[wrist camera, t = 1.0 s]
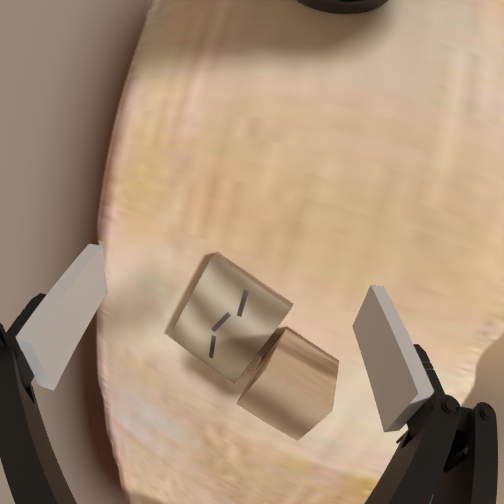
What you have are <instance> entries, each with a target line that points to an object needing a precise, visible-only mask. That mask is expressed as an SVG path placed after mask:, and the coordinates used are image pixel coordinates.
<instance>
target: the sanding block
mask: <svg viewBox="0 0 504 504" xmlns="http://www.w3.org/2000/svg"><path fill="white" fill-rule="evenodd" d="M338 365H339V360H337V359H336V358H334V357H333V356H331V355H329V354H328V353H326V352H325V351H323V350H322V349H320V348H319V347H317V346H316V345H314V344H313V343H311V342H310V341H308V340H307V339H305V338H303V337H302V336H300V335H299V334H297V333H296V332H294V331H293V330H291V329H290V328H288V327H286V329H285V330H284V331H283V333H282V334H281V335H280V336H279V338H278V339H277V340H276V342H275V343H274V344H273V346H272V347H271V348H270V349H269V351H268V352H267V353H266V354H265V356H264V357H263V358H262V360H261V362H260V364H259V365H258V367H257V369H256V371H255V372H254V374H253V376H252V378H251V379H250V381H249V383H248V385H247V386H246V388H245V390H244V392H243V393H242V395H241V397H240V398H239V400H238V402H237V403H236V404H238V405H239V406H241V407H242V408H244V409H245V410H247V411H248V412H250V413H252V414H253V415H255V416H256V417H258V418H260V419H261V420H263V421H265V422H266V423H268V424H269V425H271V426H273V427H275V428H276V429H278V430H280V431H281V432H283V433H285V434H287V435H288V436H290V437H292V438H294V439H295V440H297V441H298V440H299V439H300V438H301V437H303V436H304V435H305V434H306V433H307V432H309V431H310V430H311V429H312V428H313V427H315V426H316V425H317V424H318V423H319V422H320V421H321V420H323V419H324V418H325V417H326V416H327V415H328V414H329V413H330V412H331V411H332V409H333V402H334V396H335V389H336V381H337V373H338Z"/></svg>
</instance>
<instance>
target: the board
mask: <svg viewBox="0 0 504 504" xmlns="http://www.w3.org/2000/svg"><path fill="white" fill-rule="evenodd" d="M292 306H293V303H291V302H290V301H289V300H287V299H286V298H284V297H283V296H281V295H280V294H278V293H277V292H275V291H274V290H272V289H271V288H269V287H268V286H266V285H265V284H264V283H262V282H261V281H259V280H258V279H256V278H255V277H253V276H252V275H250V274H249V273H247V272H246V271H245V270H243V269H242V268H240V267H239V266H237V265H236V264H234V263H233V262H232V261H230V260H229V259H227V258H226V257H224V256H223V255H221V254H220V253H219V252H218V253H216V254H214V255H213V256H212V258H211V260H210V261H209V263H208V265H207V267H206V269H205V271H204V272H203V274H202V276H201V278H200V280H199V282H198V284H197V285H196V287H195V289H194V291H193V293H192V295H191V297H190V298H189V300H188V302H187V304H186V306H185V308H184V310H183V312H182V314H181V315H180V317H179V319H178V321H177V323H176V325H175V327H174V329H173V331H172V333H171V335H170V337H172V338H173V339H174V340H176V341H177V342H178V343H179V344H181V345H182V346H183V347H185V348H186V349H187V350H189V351H190V352H191V353H193V354H194V355H195V356H197V357H198V358H200V359H201V360H202V361H204V362H205V363H206V364H208V365H209V366H211V367H212V368H213V369H215V370H216V371H218V372H219V373H221V374H222V375H223V376H225V377H226V378H228V379H229V380H231V381H232V382H234V383H235V382H236V380H237V379H238V378H239V377H240V375H241V374H242V373H243V372H244V370H245V369H246V368H247V367H248V365H249V364H250V363H251V361H252V360H253V359H254V358H255V356H256V355H257V354H258V352H259V351H260V350H261V348H262V347H263V346H264V345H265V343H266V342H267V341H268V339H269V338H270V337H271V335H272V334H273V333H274V331H275V330H276V329H277V327H278V326H279V325H280V323H281V322H282V320H283V319H284V318H285V316H286V315H287V314H288V312H289V311H290V310H291V308H292Z"/></svg>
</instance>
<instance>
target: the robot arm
mask: <svg viewBox="0 0 504 504" xmlns="http://www.w3.org/2000/svg"><path fill="white" fill-rule="evenodd" d="M297 1H299V2H301V3H303V4H304V5H307V6H309V7H311V8H314V9H317V10H321V11H325V12H330V13H339V14H352V13H361V12H366V11H369V10H372V9H375V8H377V7H379V6H381V5H383V4H384V3H386V2H387V1H388V0H297ZM107 292H108V291H107V283H106V275H105V266H104V256H103V246H98V245H92V244H89V245H88V246H87V247H86V248H85V249H84V250H83V252H82V253H81V254H80V255H79V256H78V257H77V258H76V260H75V261H74V262H73V263H72V264H71V265H70V267H69V268H68V269H67V270H66V272H65V273H64V274H63V275H62V276H61V278H60V279H59V280H58V281H57V282H56V284H55V285H54V286H53V287H52V289H51V290H50V291H49V293H48V294H47V295H45V294H42V293H40V294H39V295H37V296H36V297H34V298H33V299H31V301H30V302H29V303H28V304H27V306H26V307H25V309H23V311H22V312H21V315H19V316H18V317H17V319H16V320H15V321H14V323H13V324H12V326H11V327H10V328H9V330H8V331H7V332H5V330H4V328H3V325H2V324H1V323H0V458H1V462H2V465H3V469H4V472H5V475H6V478H7V481H8V484H9V487H10V490H11V493H12V496H13V499H14V501H15V504H77V503H76V501H75V499H74V497H73V495H72V493H71V491H70V489H69V487H68V484H67V482H66V480H65V478H64V476H63V474H62V471H61V469H60V466H59V464H58V462H57V459H56V457H55V454H54V452H53V449H52V447H51V444H50V441H49V438H48V436H47V433H46V430H45V427H44V424H43V421H42V418H41V414H40V411H39V408H38V404H37V401H36V398H35V394H34V390H33V387H32V385H31V381H32V379H33V377H35V379H36V381H37V383H38V384H39V385H40V386H43V387H45V388H48V389H51V390H54V389H55V387H56V385H57V383H58V381H59V379H60V377H61V375H62V373H63V371H64V369H65V367H66V365H67V363H68V361H69V359H70V357H71V356H72V354H73V352H74V350H75V348H76V346H77V344H78V342H79V341H80V339H81V337H82V335H83V333H84V331H85V330H86V328H87V326H88V324H89V323H90V321H91V319H92V317H93V316H94V314H95V312H96V311H97V309H98V307H99V305H100V304H101V302H102V300H103V299H104V297H105V295H106V294H107ZM353 329H354V332H355V335H356V338H357V341H358V344H359V348H360V351H361V354H362V357H363V360H364V364H365V367H366V370H367V373H368V377H369V380H370V383H371V387H372V390H373V394H374V397H375V401H376V404H377V408H378V412H379V415H380V419H381V423H382V426H383V430H384V432H390V431H398V430H400V429H401V428H402V427H403V426H404V425H405V424H406V423H407V426H408V430H407V431H406V432H405V433H404V434H403V435H402V436H401V437H400V438H399V439H398V440H397V442H396V443H399V442H400V441H401V442H400V444H399V446H398V448H397V450H396V452H395V454H394V455H393V457H392V459H391V461H390V463H389V464H388V466H387V468H386V470H385V472H384V473H383V475H382V477H381V478H380V480H379V482H378V483H377V485H376V487H375V488H374V490H373V491H372V493H371V494H370V496H369V498H368V499H367V501H366V502H365V504H429V502H430V500H431V498H432V495H433V498H432V503H431V504H496V495H497V477H498V440H497V423H496V422H497V421H496V414H495V411H494V410H493V408H492V407H491V406H490V405H489V404H487V403H484V402H480V403H478V404H477V405H476V406H475V407H474V408H473V409H470V408H465V407H460V404H459V403H458V401H457V400H456V399H455V398H454V397H452V396H450V395H445V393H444V390H443V388H442V386H441V384H440V381H439V379H438V377H437V375H436V373H435V371H434V370H433V366H432V364H431V363H430V360H429V358H428V356H427V354H426V352H425V351H424V350H423V349H422V348H421V346H420V345H419V344H413V343H412V341H411V339H410V337H409V335H408V333H407V331H406V329H405V327H404V325H403V323H402V321H401V319H400V317H399V315H398V313H397V311H396V309H395V307H394V305H393V303H392V301H391V299H390V297H389V295H388V293H387V292H386V290H385V288H384V286H376V285H370V288H369V290H368V292H367V295H366V297H365V299H364V302H363V304H362V306H361V308H360V311H359V313H358V315H357V317H356V319H355V322H354V324H353ZM467 448H468V449H467Z"/></svg>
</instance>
